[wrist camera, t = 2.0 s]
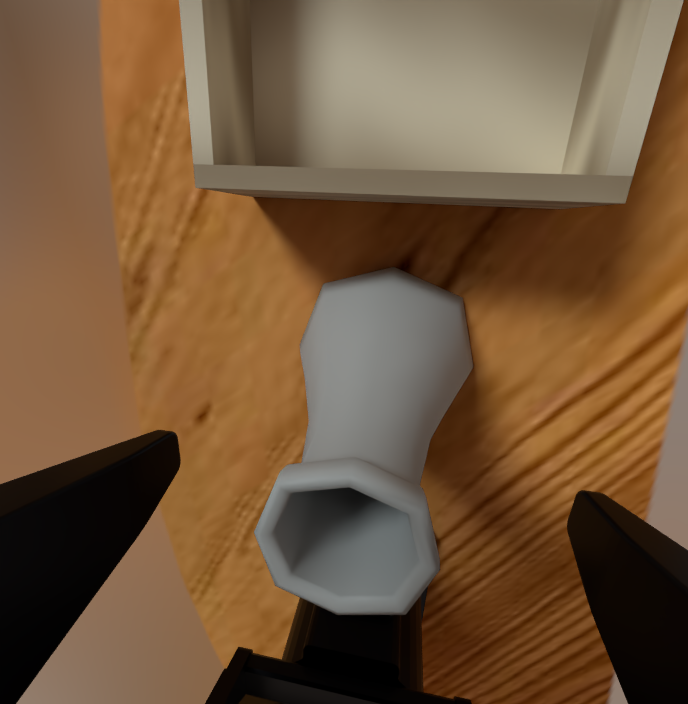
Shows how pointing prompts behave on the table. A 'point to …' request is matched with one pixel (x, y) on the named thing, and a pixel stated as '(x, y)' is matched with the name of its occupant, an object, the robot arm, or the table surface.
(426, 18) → the crate
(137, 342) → the table surface
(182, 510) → the table surface
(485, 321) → the table surface
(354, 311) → the flask
